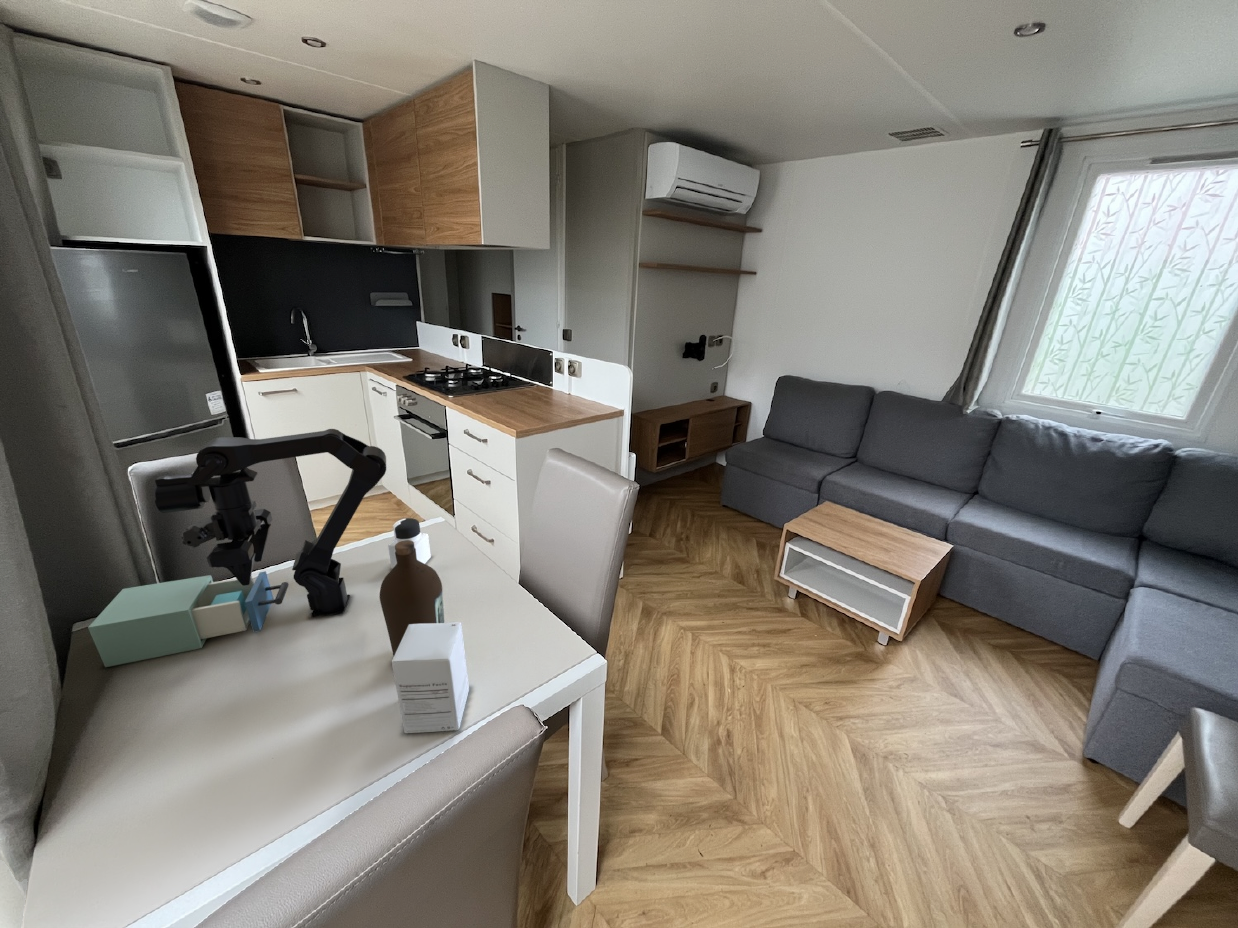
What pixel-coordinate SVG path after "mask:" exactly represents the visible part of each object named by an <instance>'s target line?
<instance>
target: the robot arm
mask: <svg viewBox="0 0 1238 928" xmlns="http://www.w3.org/2000/svg"><path fill="white" fill-rule="evenodd" d="M325 453H327V454H329V455H331V456H333V457H335V458H336V459H337V460H338V461H339V462H341V463H342V464H343V465H345V466H346V467H347V468H349V469H351V472H350V476H349V480H348V483H347V485H346V486H345V487H344V490H343V492H342V493H341V495H340V497H339V499H338V500H337V502H336V504H335V506H334V507H333V509H332V511H331V513H330V515H329V517H328V518H327V520H326V521H325V523H324V525H323V527H322V529H321V531H320V533H319V534H318V536H317V537H316V538H315V539H314V540H313V541H312V542H311V541H309V540H304V541H303V545H302V548H301V549H300V551H298V552H297V553H296V555H295V559H294V562H293V565H292V569H291V570H292V571H294V573H293V580H294V581H295V583H296V584H297V585H299V586H300V587H303V588H304V589H305V590H306V592H307V594H306V598H307V601H308V606H309V610H310V611H311V613H310V617H311V618H319V617H320V618H321V617H328V616H333V615H334V616H335V615H342V614H344V613H345V612H346V609H347V606H348V604H349V602H350V600H351V595H350V594H348V593H347V592H348V591H347V587H346V583H345V578H344V577H343V576H342V577H340V575H341V568H342V563H341V562H340V561H337V560H335V559H333V558H332V557H333V554H334V552H335V549H336V547H337V545H338V544H339V542H340V540H341V538H342V536H343V535H344V533H345V531H346V529H347V528H348V525H350V522H351V521H352V519H353V517H354V515H355V513H356V512H357V510H358V508H359V507H360V505H361V503H362V501H363V500H364V498H365V496H366V495H367V494H368V493H369V492H370V491H371V490H372V489H374V487H375V486H376V485H377V484H378V483H379V482H380V481H381V480H382V478H384V476H385V474H386V472H387V456H386V453H385V451H384V450H382V448H381V447H379V446H376V445H375V446H374V445H368V444H366V443H364V442H363V441H361V440H359V439H357V438H354V437H352V436H350V435H347V434H345V433H343V431H340V430H339V429H336V428H327V429H325V430H320V431H313V432H305V433H298V434H291V435H283V436H275V437H268V438H267V437H266V438H260V439H259V438H247V437H238V436H237V437H236V436H235V437H232V436H230V437H229V436H220V437H216V438H213V439H210V441H208V442H207V443H206V444H205V445H204V446H203V447H202V448H201V449H200V450H199V451H198V453H197V454H196V457H195V461H196V465H197V466H196V467H195V469H194V470H193V471H192V473H185V474H177V475H170V474H169V475H167V474H165V475H159V476H158V477H157V478H156V479H154V483H155V485H156V486H155V490H154V491H155V492H154V496H155V497H154V498H155V499H154V504H155V506H156V508H157V510H158V511H159V512H160V513H162V514H167V513H168V514H169V513H175V512H183V511H190V510H191V511H192V510H198V509H203V508H204V507H205V505H206V503H209V502H210V501H212V503H213V508H214V510H215V511H214V512H213V514H212V515H211V516H209V517H206V518H203V519H201V520H199V521H196V522H194V523H192V524H191V525H189V526H188V527H186V528H185V529H184V530H183V532H182V533H181V536H180V538H181V539H182V544H183V545H185V546H188V547H192V548H194V549H195V548H197V547H199V546H200V545H201V544H204V543H207V542H209V541H211V540H214V539H215V540H216V541H218V542H219V541H225V539H227V540H228V541H227V542H222V543H216V545H215V546H214V547H213V548H212V549H211V550H210V552H209V554H208V555H207V557H206V561H207V564H208V567H210V568H225V569H226V570H228V571H229V572H230V573H231V574H232V575H233V576H234V577H235V579H237V580H238V581H239V582H240V583H241V584H242V585H243V586H245V585H249V584H250V579H251V576H252V573H253V569H254V562H255V563H259V562H262V560H263V557H264V552H265V548H266V544H267V541H268V537H269V534H270V530H271V527H272V522H273V517H272V513H271V511H269V510H267V509H266V508H260V509H256V507H257V503H256V500H253V501H252V498H251V494H250V490H249V486H248V482H254V481H255V480H256V477H257V476H258V475H259V473H258V472H257V471H256V470H253V469H250V468H249V467H251V466H254V465H256V464H259V463H263V462H264V463H265V462H271V461H277V460H279V461H280V460H285V459H293V458H300V457H306V456H312V455H319V454H325Z"/></svg>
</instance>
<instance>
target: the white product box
mask: <svg viewBox="0 0 1238 928" xmlns="http://www.w3.org/2000/svg"><path fill="white" fill-rule="evenodd" d="M466 659H467V658H466V652H465V643H464V636H463V627H462V622H460V621H456V622H455V621H453V622H444V623H429V624H409V625H408V627H407V630H406V632H405V634H404V636H403V638H402V640H401V642H400V645H399V647H398V649H397V651H396V653H395V655H394V657H393V658H392V660H391V668H392V673H393V679H394V683H395V688H396V694H397V700H398V704H399V705H398V706H399V711H400V716H401V721H402V727H403V732H404V734H416V733H417V734H418V733H419V734H420V733H435V732H436V733H437V732H449V731H450V732H451V731H459V730H460V727H461V724H462V719H463V715H464V711H465V708H466V703H467V700H468V695H469V691H470V684H469V676H468V668H467V660H466Z"/></svg>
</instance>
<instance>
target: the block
mask: <svg viewBox="0 0 1238 928" xmlns="http://www.w3.org/2000/svg"><path fill="white" fill-rule="evenodd" d="M233 601H239V602H240V606H241V609H242V612H243V615H244V613H245V611H246V609H247V608H246V605H245V600H244V597H243V593H242V591H237V592H232V593H226V594H220V595H216V597H215V599H214V600H213V602H212V604H211V605H216V604H221V603H227V602H233Z"/></svg>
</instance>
